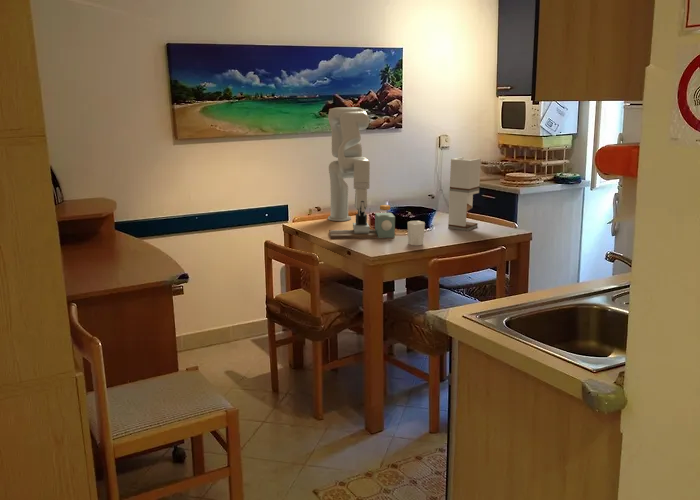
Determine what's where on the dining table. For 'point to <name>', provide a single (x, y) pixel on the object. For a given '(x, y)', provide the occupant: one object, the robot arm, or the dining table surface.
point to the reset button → (384, 207)
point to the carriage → (361, 226)
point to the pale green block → (385, 225)
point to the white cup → (416, 232)
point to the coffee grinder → (463, 191)
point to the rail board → (351, 234)
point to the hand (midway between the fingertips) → (361, 222)
